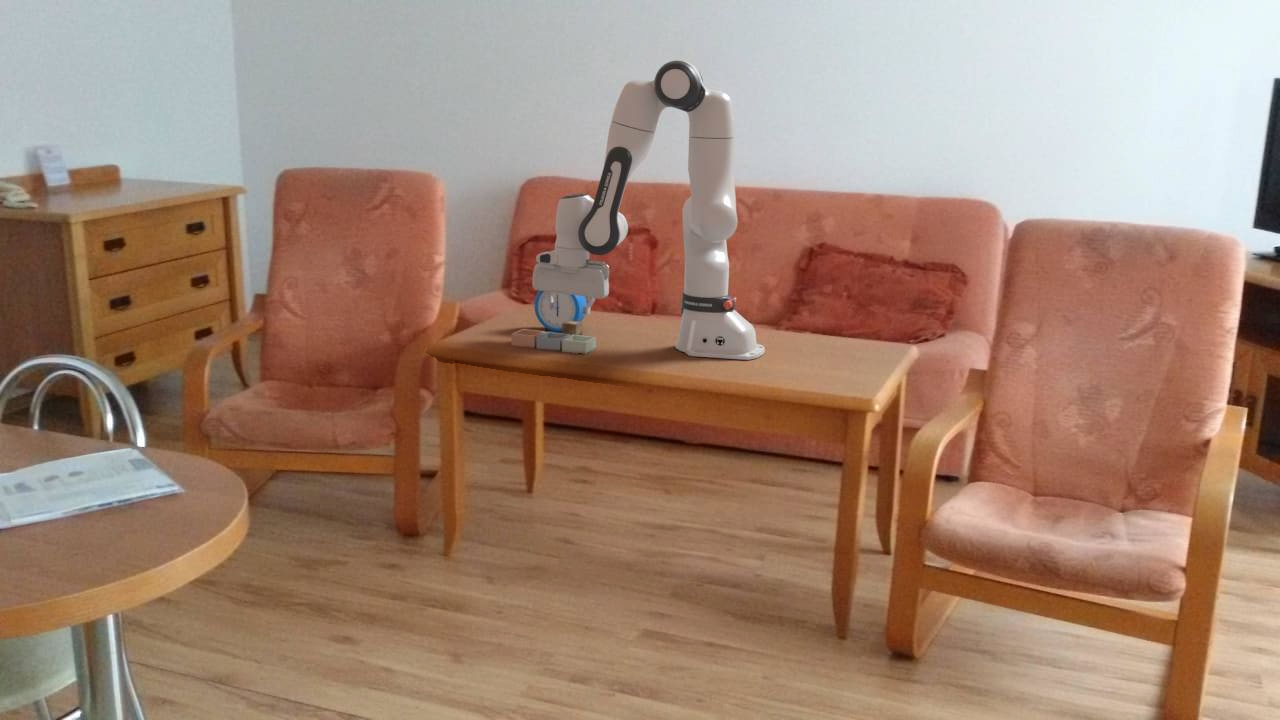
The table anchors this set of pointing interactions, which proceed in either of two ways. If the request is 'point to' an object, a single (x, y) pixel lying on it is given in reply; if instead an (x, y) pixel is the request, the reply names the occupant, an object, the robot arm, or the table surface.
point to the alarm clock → (559, 310)
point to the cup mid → (551, 341)
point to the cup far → (526, 338)
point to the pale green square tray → (578, 344)
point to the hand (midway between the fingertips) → (569, 311)
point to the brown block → (572, 327)
